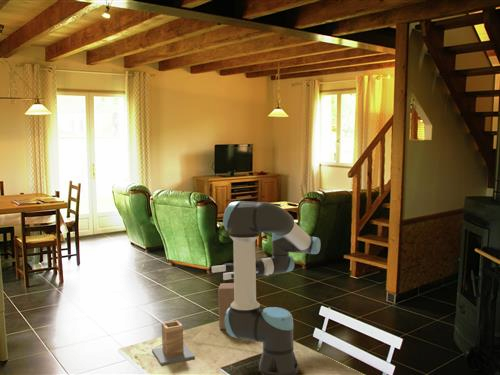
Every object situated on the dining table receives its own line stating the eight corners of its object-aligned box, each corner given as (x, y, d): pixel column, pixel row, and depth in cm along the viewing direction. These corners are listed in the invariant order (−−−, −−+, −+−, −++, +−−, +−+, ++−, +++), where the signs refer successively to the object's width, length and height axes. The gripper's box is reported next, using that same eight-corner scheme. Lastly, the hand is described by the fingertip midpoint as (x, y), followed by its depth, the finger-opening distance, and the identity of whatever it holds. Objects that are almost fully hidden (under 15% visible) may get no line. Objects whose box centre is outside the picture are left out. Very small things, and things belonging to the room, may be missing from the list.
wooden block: (240, 329, 228) (239, 288, 226) (219, 330, 228) (218, 288, 226) (241, 322, 238) (240, 282, 236) (220, 322, 238) (219, 282, 236)
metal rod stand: (194, 358, 197) (194, 332, 196) (161, 365, 191) (160, 338, 190) (183, 345, 211) (182, 320, 210) (151, 351, 205) (151, 326, 204)
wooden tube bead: (183, 353, 199) (182, 325, 198) (167, 357, 196) (166, 328, 195) (178, 347, 206) (177, 320, 205) (162, 350, 203) (161, 323, 202)
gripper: (274, 282, 205) (229, 288, 196) (249, 269, 228) (207, 275, 219) (274, 264, 205) (228, 270, 196) (249, 253, 227) (207, 258, 218)
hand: (217, 273), depth 207 cm, fingers open, 13 cm apart
